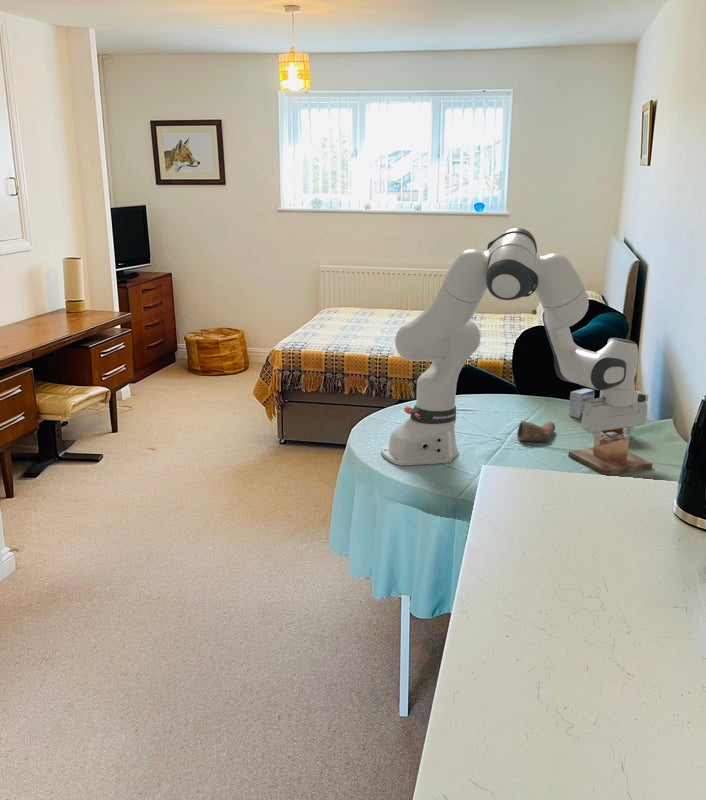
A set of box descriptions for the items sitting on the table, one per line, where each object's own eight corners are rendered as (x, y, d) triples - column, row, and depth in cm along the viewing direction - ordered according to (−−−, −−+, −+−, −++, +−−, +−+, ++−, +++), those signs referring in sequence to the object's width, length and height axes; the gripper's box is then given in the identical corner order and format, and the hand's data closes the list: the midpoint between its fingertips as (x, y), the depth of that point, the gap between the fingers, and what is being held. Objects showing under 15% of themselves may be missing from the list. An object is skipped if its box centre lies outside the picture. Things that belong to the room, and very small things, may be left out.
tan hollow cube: (608, 462, 205) (610, 442, 204) (592, 454, 211) (594, 434, 209) (626, 459, 208) (629, 439, 206) (611, 451, 213) (613, 432, 212)
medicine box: (579, 419, 248) (581, 394, 246) (567, 415, 251) (570, 391, 249) (592, 414, 253) (595, 390, 250) (581, 411, 256) (583, 387, 254)
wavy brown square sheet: (605, 475, 200) (609, 446, 197) (568, 456, 214) (571, 428, 212) (652, 467, 206) (655, 439, 203) (612, 449, 220) (615, 422, 217)
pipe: (560, 417, 234) (529, 408, 238) (549, 432, 220) (516, 422, 224) (555, 436, 236) (525, 426, 240) (544, 451, 222) (511, 441, 226)
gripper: (594, 402, 198) (588, 451, 202) (653, 395, 205) (647, 442, 209) (578, 396, 203) (574, 443, 207) (637, 389, 211) (631, 435, 215)
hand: (611, 442), depth 208 cm, fingers open, 8 cm apart
